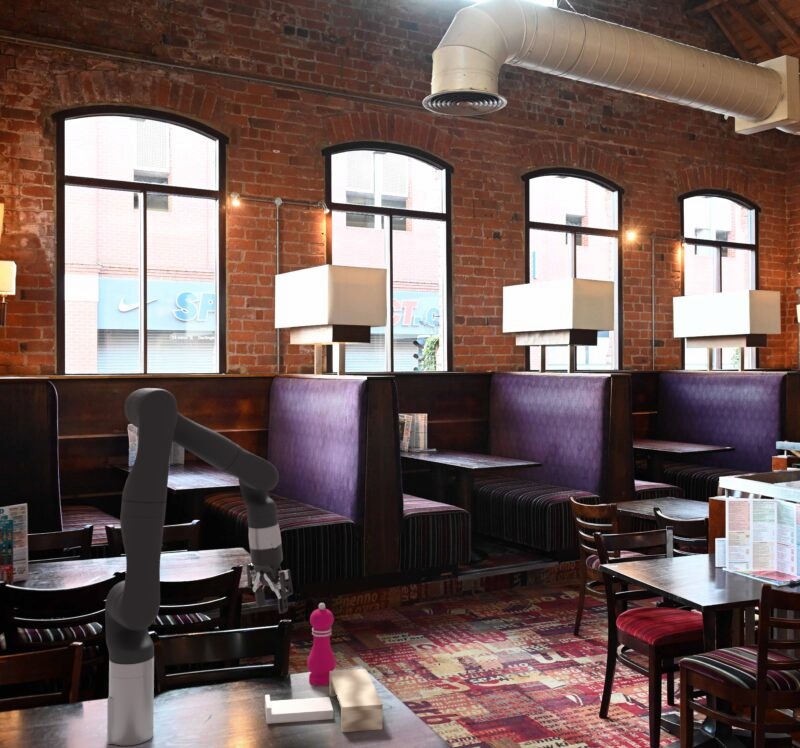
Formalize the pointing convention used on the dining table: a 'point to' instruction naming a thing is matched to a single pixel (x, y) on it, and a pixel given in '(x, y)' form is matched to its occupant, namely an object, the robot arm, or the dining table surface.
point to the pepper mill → (321, 647)
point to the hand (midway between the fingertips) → (272, 609)
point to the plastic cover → (297, 710)
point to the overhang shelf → (356, 700)
